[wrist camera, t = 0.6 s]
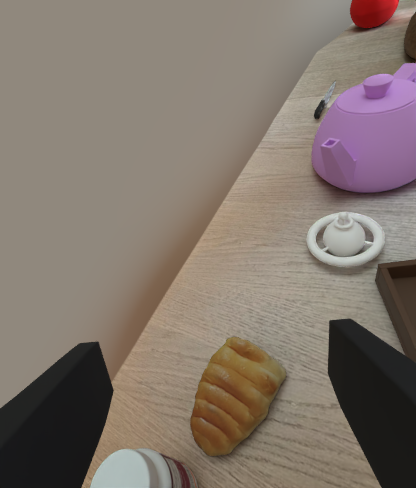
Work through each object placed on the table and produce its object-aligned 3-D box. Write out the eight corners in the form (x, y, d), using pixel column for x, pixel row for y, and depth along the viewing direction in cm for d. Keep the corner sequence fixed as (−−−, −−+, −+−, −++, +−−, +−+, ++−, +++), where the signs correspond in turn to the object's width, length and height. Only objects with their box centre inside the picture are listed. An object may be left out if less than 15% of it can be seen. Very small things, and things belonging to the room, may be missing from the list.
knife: (334, 88, 62) (334, 78, 61) (337, 87, 62) (337, 78, 60) (314, 122, 55) (313, 112, 53) (318, 122, 54) (317, 112, 53)
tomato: (395, 27, 76) (401, -25, 69) (346, 37, 82) (348, -10, 74) (398, 13, 82) (404, -36, 75) (353, 23, 88) (354, -21, 81)
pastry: (240, 481, 22) (228, 475, 19) (177, 428, 26) (160, 417, 23) (291, 371, 26) (287, 353, 24) (231, 339, 30) (221, 321, 27)
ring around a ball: (394, 270, 30) (371, 218, 35) (401, 233, 26) (374, 181, 31) (313, 280, 32) (303, 230, 37) (309, 247, 28) (298, 196, 34)
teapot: (355, 122, 51) (360, 44, 42) (464, 134, 40) (499, 34, 32) (278, 194, 44) (266, 118, 35) (387, 231, 33) (406, 134, 25)
